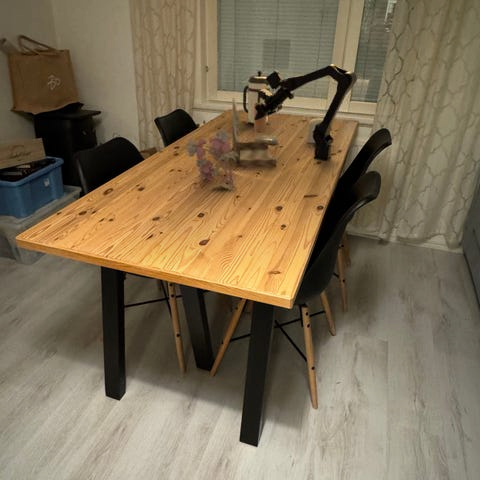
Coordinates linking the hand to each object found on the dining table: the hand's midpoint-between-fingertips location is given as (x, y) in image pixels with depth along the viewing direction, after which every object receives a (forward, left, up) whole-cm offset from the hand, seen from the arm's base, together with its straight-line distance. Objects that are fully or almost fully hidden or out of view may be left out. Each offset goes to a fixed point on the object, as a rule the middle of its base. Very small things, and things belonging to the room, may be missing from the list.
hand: (257, 118), depth 198 cm
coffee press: (+22, -38, -14) cm, 46 cm away
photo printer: (-24, -22, -14) cm, 35 cm away
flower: (-11, +55, -14) cm, 58 cm away
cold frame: (-9, +19, -13) cm, 25 cm away
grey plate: (-2, -7, -13) cm, 15 cm away
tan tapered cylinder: (-1, 0, -6) cm, 6 cm away
